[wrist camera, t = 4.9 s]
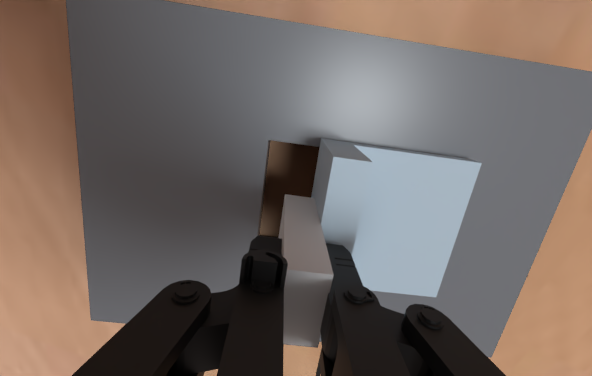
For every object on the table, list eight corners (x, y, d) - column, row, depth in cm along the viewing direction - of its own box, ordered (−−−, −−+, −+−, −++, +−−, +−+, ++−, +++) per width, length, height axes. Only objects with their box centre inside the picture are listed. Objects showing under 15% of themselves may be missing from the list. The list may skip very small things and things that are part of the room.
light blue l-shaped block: (321, 138, 15) (333, 156, 11) (472, 159, 16) (536, 184, 12) (298, 274, 18) (301, 330, 14) (430, 288, 18) (470, 346, 14)
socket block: (103, 2, 16) (64, -16, 13) (562, 77, 18) (614, 75, 15) (116, 289, 22) (91, 320, 19) (466, 324, 23) (491, 357, 21)
